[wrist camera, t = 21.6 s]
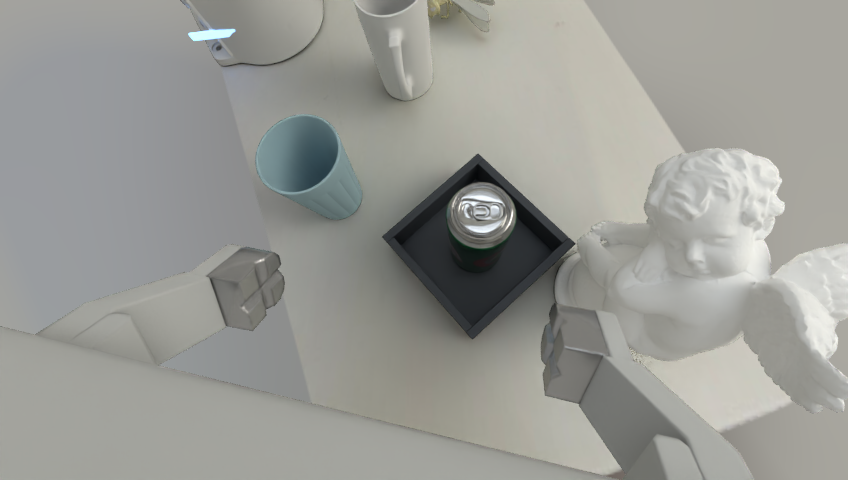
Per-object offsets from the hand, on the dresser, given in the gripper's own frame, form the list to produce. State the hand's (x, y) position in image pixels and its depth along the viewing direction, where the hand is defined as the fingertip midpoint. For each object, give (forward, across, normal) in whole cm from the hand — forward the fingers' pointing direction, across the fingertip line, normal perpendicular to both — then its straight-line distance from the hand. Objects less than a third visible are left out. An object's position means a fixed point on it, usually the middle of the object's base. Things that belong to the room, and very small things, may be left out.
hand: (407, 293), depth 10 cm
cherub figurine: (+22, -16, +15) cm, 31 cm away
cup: (+26, +14, +11) cm, 32 cm away
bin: (+23, -2, +13) cm, 27 cm away
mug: (+37, +9, 0) cm, 38 cm away
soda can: (+23, -2, +13) cm, 26 cm away
